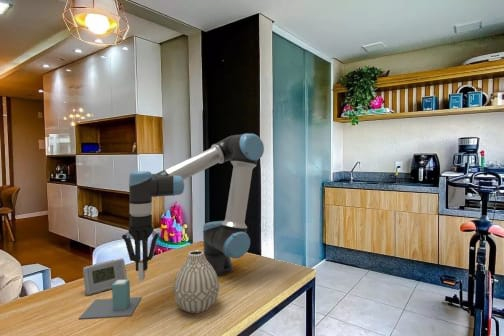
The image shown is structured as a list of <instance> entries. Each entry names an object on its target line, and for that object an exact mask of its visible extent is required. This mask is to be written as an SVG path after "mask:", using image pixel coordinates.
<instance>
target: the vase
mask: <svg viewBox="0 0 504 336" xmlns="http://www.w3.org/2000/svg"><path fill="white" fill-rule="evenodd" d="M218 277H219V276H217V274H216V272H215V270H214V268H213V267H212V266H211V264H210V263H209V262H208V261H207V259H206V257H205V254H204V250H201V249H196V250H190V251H189V252H188V253H187V257H186V260H185V261H184V263H183V264H182V265H181V267H180V269H179V271H178V272H177V274H176V277H175V280H174V283H173V284H174V285H173V294H174V299H175V301H176V303H177V304H178V306H179V307H180V309H182V310H184V311H185V312H187V313H190V314H200V313H204V312H205V311H208V310H209V309H210V308H211V307H212V306H213V305H214V304H215V302H216V300H217V298H218V296H219V291H220V282H219V278H218Z"/></svg>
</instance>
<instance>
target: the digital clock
mask: <svg viewBox="0 0 504 336" xmlns="http://www.w3.org/2000/svg"><path fill="white" fill-rule="evenodd" d="M125 263H126V262H125V258H118V259H112V260H107V261H103V262H99V263H95V264H93V265H92V264H91V265H87V266H85V267H83V268H82V274H83V282H84V283H83V284H84V292H85V295H86V296H90V295H94V294H100V293H102V292H107V291H109V290H112V285H113V284H114V282H115V281H116V280H124V279H128V277H127V270H126V264H125Z"/></svg>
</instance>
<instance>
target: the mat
mask: <svg viewBox="0 0 504 336" xmlns="http://www.w3.org/2000/svg"><path fill="white" fill-rule="evenodd" d="M142 298H143V297H142V296H138V297H137V296H136V297H130V304H129V306H128V307H127V309H126V310H113V298H102V299H100V298H99V299H97V298H96V299H94V300H93V302H92V303H91V304H90V305H89V306H88V307H87V308H86V309H85V311H84V312H83V313H82V314H81V315H80V316H79V317H78V320H91V319H106V318H107V319H108V318H110V319H111V318H120V317H121V318H123V317H124V318H125V317H132V315H133V314H134V312H135V310H136V308H137V307H138V305H139V303H140V301H141V300H142Z"/></svg>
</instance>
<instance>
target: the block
mask: <svg viewBox="0 0 504 336" xmlns="http://www.w3.org/2000/svg"><path fill="white" fill-rule="evenodd" d="M130 284H131V283H130V279H129V278H127V279H124V280H116V281H115V282H114V284H113V285H112V289H111V290H112V291H111V293H112V299H113V310H126V309H127V307H128V306H129V304H130V298H131V292H130V291H131V289H130V288H131V285H130Z"/></svg>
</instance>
